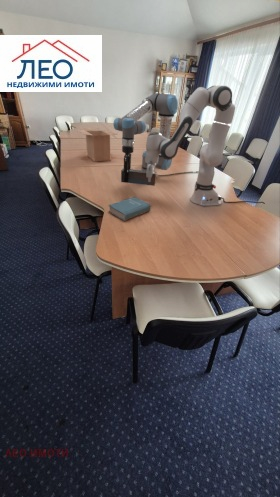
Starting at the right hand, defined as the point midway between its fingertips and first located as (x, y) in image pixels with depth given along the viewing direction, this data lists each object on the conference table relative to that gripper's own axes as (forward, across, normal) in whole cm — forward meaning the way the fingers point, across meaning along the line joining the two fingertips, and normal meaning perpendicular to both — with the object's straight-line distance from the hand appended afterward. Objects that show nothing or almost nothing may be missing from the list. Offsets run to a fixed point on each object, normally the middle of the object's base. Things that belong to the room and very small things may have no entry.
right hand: (150, 179), depth 156 cm
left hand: (+2, 0, +16) cm, 17 cm away
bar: (+3, 0, +8) cm, 9 cm away
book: (+15, -22, +10) cm, 29 cm away
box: (+15, +96, +69) cm, 120 cm away
